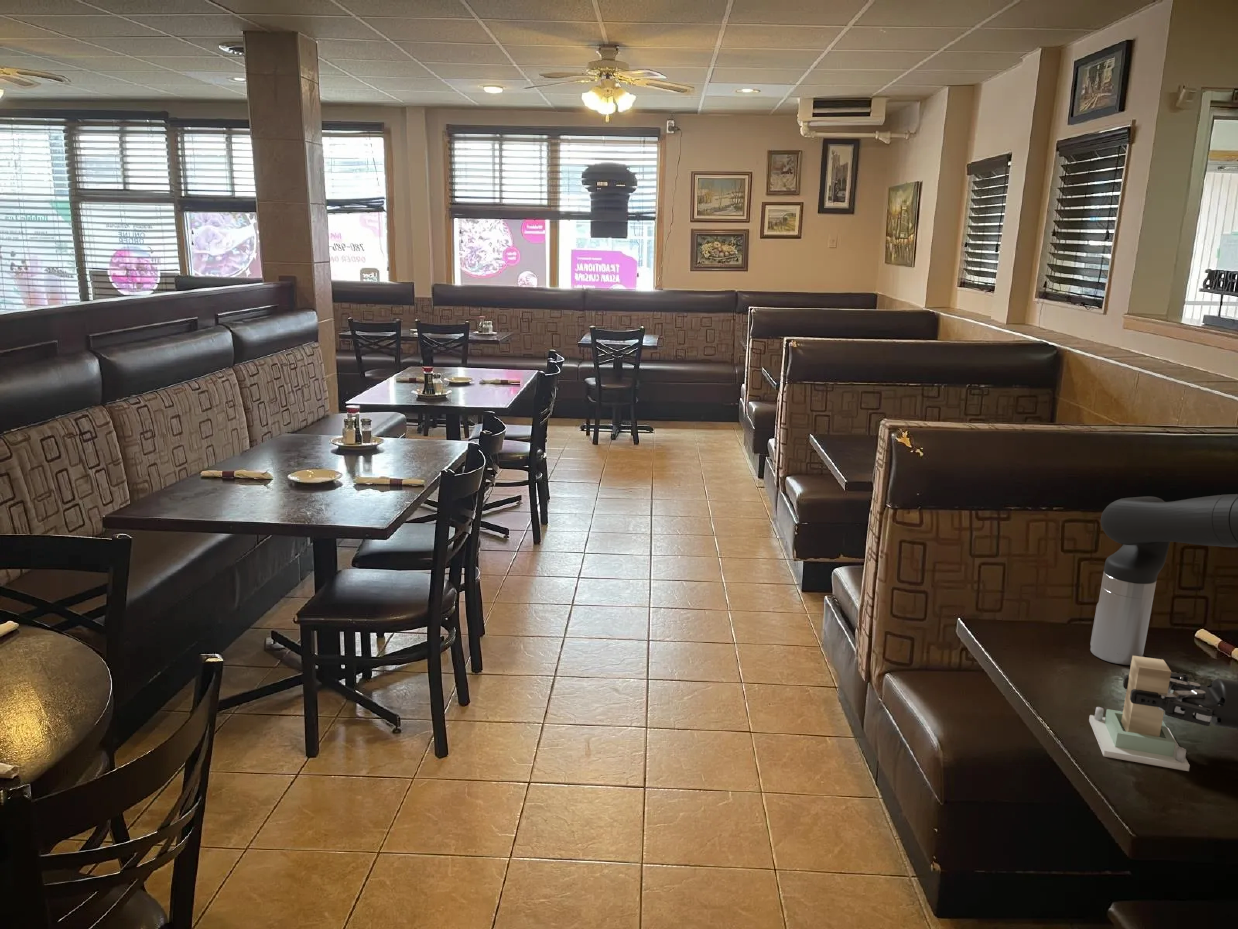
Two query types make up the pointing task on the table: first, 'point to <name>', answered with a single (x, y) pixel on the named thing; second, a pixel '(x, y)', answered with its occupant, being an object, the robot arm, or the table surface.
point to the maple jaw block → (1147, 678)
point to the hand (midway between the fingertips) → (1128, 688)
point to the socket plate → (1136, 742)
